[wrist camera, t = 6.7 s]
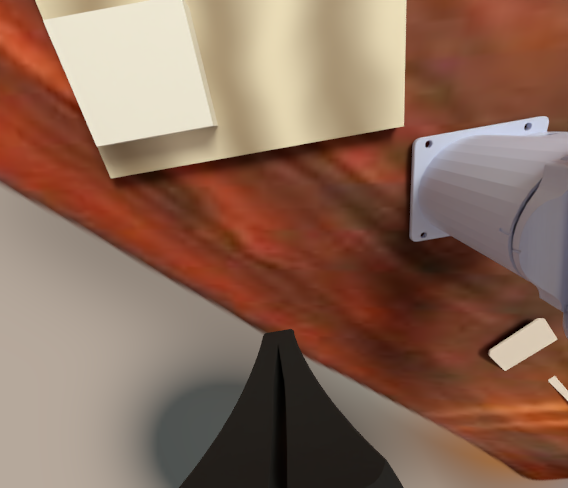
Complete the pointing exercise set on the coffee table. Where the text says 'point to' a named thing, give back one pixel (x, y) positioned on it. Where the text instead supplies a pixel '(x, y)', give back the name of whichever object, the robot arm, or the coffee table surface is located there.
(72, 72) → the tile
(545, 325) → the pale flat elongated part
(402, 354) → the coffee table surface
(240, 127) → the board
